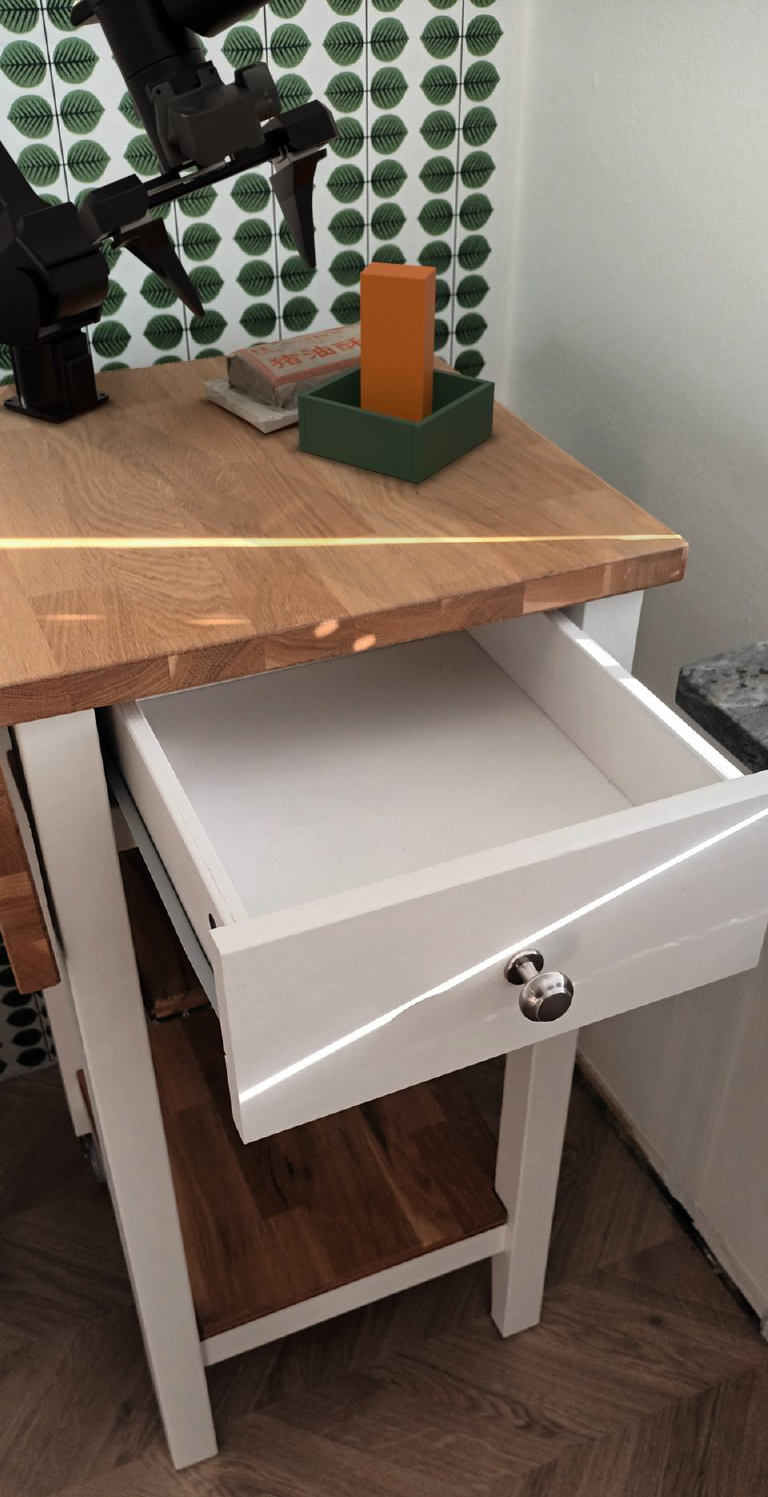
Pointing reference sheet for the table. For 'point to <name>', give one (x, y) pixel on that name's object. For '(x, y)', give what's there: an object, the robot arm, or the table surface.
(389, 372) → the tall orange pillar
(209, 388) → the packaged product
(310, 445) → the green square open box
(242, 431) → the table surface
